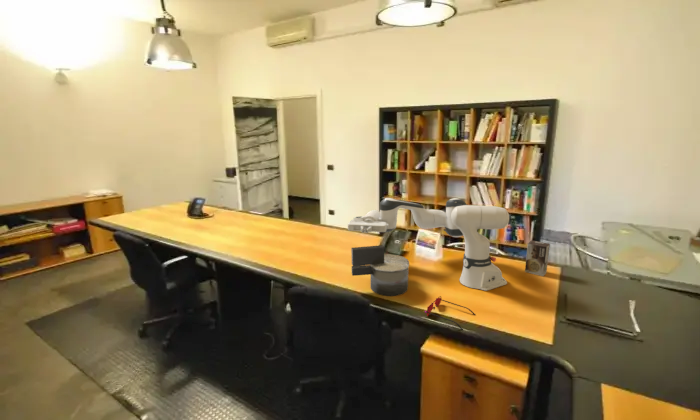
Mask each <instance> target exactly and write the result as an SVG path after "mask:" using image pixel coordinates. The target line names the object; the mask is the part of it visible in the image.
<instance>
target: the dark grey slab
mask: <svg viewBox="0 0 700 420" xmlns="http://www.w3.org/2000/svg"><path fill="white" fill-rule="evenodd" d="M351 265H352V266H363V265H370V266H371V267H372V268H374V269H376V270H378V271H383V272H399V271H403V270H405V269H407V268H408V269H409V267H410V260H408V259H407V258H406V257H405V256H402V255H397V254H389V253H387V254H385V246H384V245H383V244H382V245H370V246H369V245H368V246H359V247H357V246H356V247H351Z"/></svg>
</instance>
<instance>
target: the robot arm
mask: <svg viewBox="0 0 700 420" xmlns="http://www.w3.org/2000/svg"><path fill="white" fill-rule="evenodd" d="M399 209H403V210H409V211H410V212H411V213H412V218H413V221H414V223H415V224H416V226H417V227H419V228H420V229H426V230H427V229H435V228H437V229H438V228H441V227H442V228H444V229H443V231H444V232H445V233H446V234H447V235H448V236H449V237H452V238H460V237H463V239H464V253H463V259H462V261H463V262H462V263H463V265H462V271H461V275H460V277H459V282H460V284H462V285H463V286H465V287H467V288H471V289H478V290H482V291H485V292H486V291H490V290H493V289H496V288H499V287H502V286H505V285H508V282H507V280H506V279H505V278H504V277H503V273H502V271H501V269H500V268H499V267H498V266H497V265H496V264H494V263H492V262H496V261H497V258H496V257H494V256H491V255H490V249H491V248H490V247H491V246H490V245H491V242H490V240H489V239H488V237H486V236H485V235H483V234H481V233H479V232H478V230H501V229H504V228H506V227H507V226H508V224H509V223H510V214H509V212H508V210H507V209H506V208H505V207H500V206H496V205H477V204H476V205H475V204H474V205H472V204H467V203H466V202H465V200H463V199H461V198H458V197H453V198H450V199H449V200H447V201H446V202H445V211H444V210H440V209H432V208H431V209H430V208H429V209H427V208H424V206H423V204H420V203H418V202H417V203H416V202H412V201H406V200H400V199H395V198H392V197H385V198H383V199H382V200H381V201H380V202H379V210H377V209H371V210H369V211H368V212H367V213H365V215H362V216H354V217H353V219H351V220H350V221H349V222H348V223H347V230H348V231H352V232H361V233H367V234H368V233H372V232H373V233H374V232H377V233H388V232H392V231H394V230H395V229H396V228H397V224H398V211H399Z"/></svg>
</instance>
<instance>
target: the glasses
mask: <svg viewBox="0 0 700 420" xmlns="http://www.w3.org/2000/svg"><path fill="white" fill-rule="evenodd" d="M442 302H445V303H448V304H451V305H455V306H457V307H460V308H463V309H467V310H468V311H469V312H471V313H472V315H474V316H476V313H474V312H473V310H471V309H470V308H469V307H466V306H464V305H463V306H462V305H461V304H457V303H454V302H451V301H447V300H444V299H442V296H438V297H436V298H435V300H434V301H433V302H431V304H430V305H428V306H427V308H426V310H424V313H426V316H427V317H429V315H432V316H435V317H437V318H440V319H444V320H447V321H449V322H452V323H453V324H455V325H457V326H458V328H459V329H460V330H461V331H464V330H465V329H464V328H463V327H462V326H461V325H459V323H457V322H456V321H454V320H451V319H448V318H446V317H442V316H440V315H437V314H434V313H433V312H432V311H433V310H435V309H436V308H438V307H439V306H440V304H441V303H442Z"/></svg>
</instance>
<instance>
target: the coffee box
mask: <svg viewBox="0 0 700 420" xmlns="http://www.w3.org/2000/svg"><path fill="white" fill-rule="evenodd" d="M550 246H551V243H548V242H542V241H536V240H532V239H531V240H530V241H529V242H528V243H527V245H526V247H527V248H526V256H525V257H526V258H525V268H524V272H525V273H529V274H532V275H537V276H539V277H540V276H541V277H544V276H546V274H547V272H548V262H549V254H550V253H549V252H550Z"/></svg>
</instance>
